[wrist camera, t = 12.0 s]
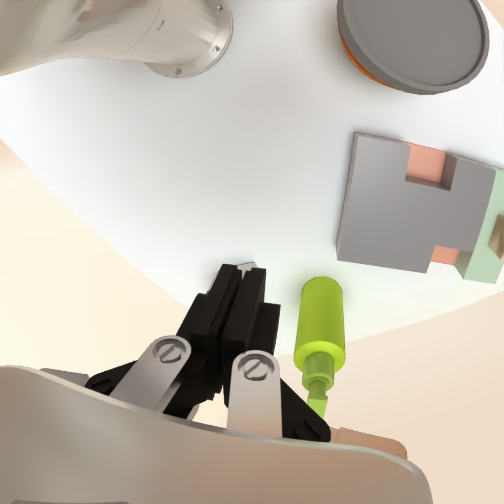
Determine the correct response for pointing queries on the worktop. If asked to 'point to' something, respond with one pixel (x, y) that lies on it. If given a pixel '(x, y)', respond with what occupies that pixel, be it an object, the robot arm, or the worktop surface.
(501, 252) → the maple block
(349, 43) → the reusable coffee cup
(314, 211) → the worktop surface
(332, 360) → the soap dispenser
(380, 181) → the board
